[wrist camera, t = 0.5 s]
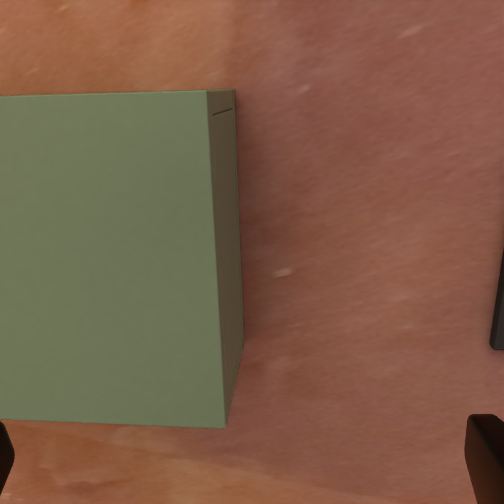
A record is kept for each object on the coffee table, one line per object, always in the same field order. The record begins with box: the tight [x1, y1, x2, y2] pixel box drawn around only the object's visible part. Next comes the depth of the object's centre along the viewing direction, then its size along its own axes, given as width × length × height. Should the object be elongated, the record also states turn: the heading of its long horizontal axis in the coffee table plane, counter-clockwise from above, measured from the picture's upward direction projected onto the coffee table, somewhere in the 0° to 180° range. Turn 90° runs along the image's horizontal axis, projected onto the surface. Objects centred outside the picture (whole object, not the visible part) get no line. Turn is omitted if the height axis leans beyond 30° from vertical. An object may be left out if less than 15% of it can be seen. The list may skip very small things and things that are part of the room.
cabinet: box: [0, 89, 244, 429], centre depth 20 cm, size 14×13×7 cm
